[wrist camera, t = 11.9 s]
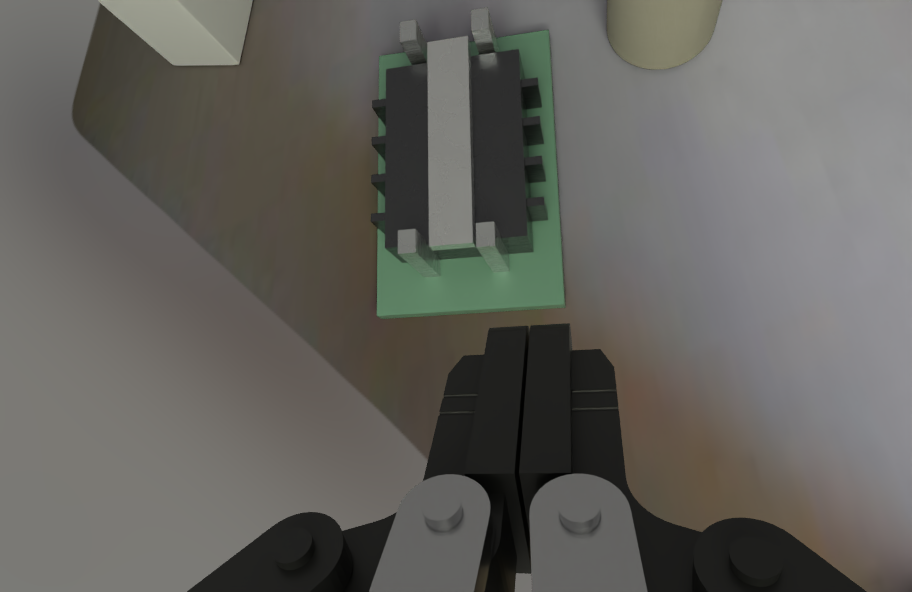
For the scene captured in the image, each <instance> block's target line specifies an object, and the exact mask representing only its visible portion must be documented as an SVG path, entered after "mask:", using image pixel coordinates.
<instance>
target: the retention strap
mask: <svg viewBox="0 0 912 592" xmlns="http://www.w3.org/2000/svg"><path fill="white" fill-rule="evenodd" d="M427 64H428V188H429V247H430V248H431V249H432V250H433V251H435V250H446V249H458V248H470V247H476V236H475V197H474V158H473V119H472V80H471V44H470V41H469V38H468V36H463V37H457V38H451V39H444V40H438V41H432V42H427Z"/></svg>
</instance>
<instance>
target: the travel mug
mask: <svg viewBox="0 0 912 592" xmlns="http://www.w3.org/2000/svg"><path fill="white" fill-rule="evenodd" d="M721 4H722V0H607V35H608V39H609V41H610V44H611V46H612V48H613V49H614V50H615V52H616V53H617V54H618V55H619V56H620V57H621V58H622V59H624V60H625V61H627V62H628V63H630V64H632V65H635V66H637V67H641V68H645V69H667V68H672V67H676V66H678V65H681V64H683V63H685V62H687V61H689V60H691V59H692V58H694V57H695V56H696V55H698V54H699V53H700V52H701V51H702V50H703V49H704V48H705V46H706V45H707V44H708V42H709V41H710V39H711V37H712V34H713V32H714V28H715V25H716V21H717V18H718V14H719V11H720V7H721Z"/></svg>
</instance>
